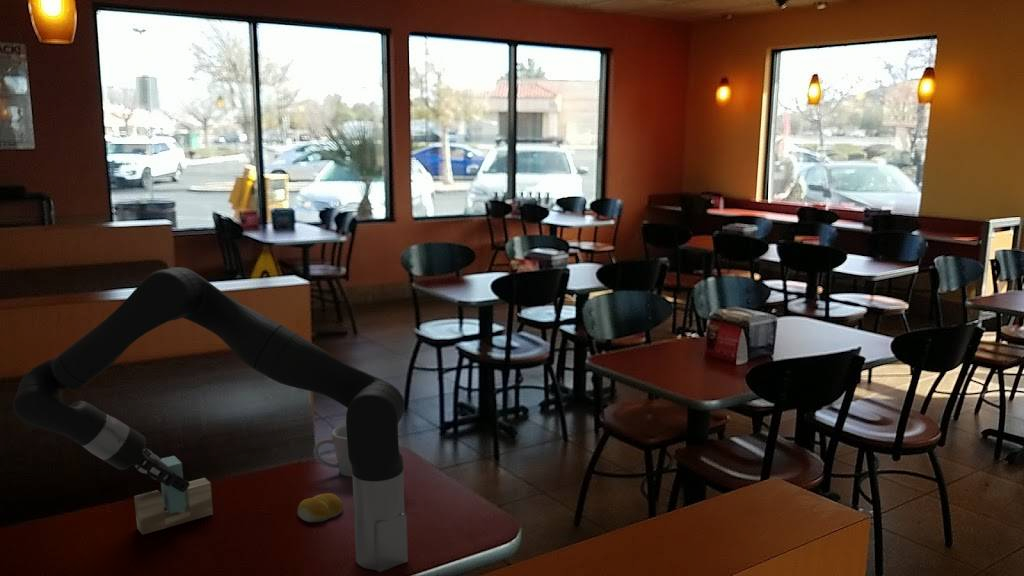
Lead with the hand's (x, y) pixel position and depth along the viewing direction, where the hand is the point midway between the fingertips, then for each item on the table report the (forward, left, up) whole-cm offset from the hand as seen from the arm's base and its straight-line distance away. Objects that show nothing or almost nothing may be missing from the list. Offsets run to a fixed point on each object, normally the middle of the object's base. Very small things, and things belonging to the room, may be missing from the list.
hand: (181, 483), depth 167 cm
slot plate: (0, +2, -8) cm, 8 cm away
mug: (0, -37, -8) cm, 38 cm away
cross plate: (0, +2, -5) cm, 5 cm away
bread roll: (-16, -23, -8) cm, 29 cm away
